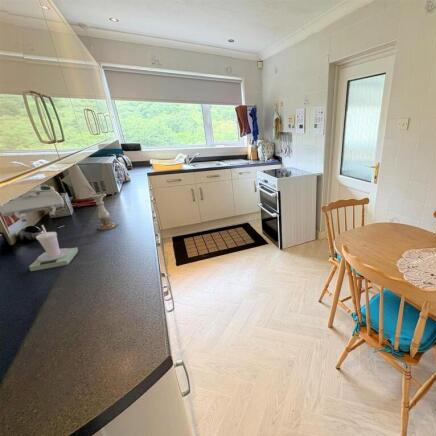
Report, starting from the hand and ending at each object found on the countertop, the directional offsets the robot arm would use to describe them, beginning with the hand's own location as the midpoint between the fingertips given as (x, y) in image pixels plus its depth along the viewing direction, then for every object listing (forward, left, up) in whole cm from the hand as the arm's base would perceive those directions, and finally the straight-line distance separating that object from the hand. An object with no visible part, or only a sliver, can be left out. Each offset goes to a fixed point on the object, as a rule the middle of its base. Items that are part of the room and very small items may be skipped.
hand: (38, 218), depth 106 cm
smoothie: (+5, -11, -14) cm, 19 cm away
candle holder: (+17, +23, -17) cm, 33 cm away
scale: (+5, -12, -17) cm, 22 cm away
